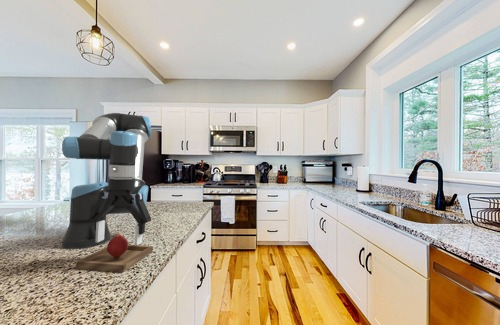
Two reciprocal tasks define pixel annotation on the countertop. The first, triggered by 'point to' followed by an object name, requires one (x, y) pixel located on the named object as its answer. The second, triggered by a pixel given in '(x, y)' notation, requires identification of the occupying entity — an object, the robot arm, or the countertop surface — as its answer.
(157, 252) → the countertop surface
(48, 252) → the countertop surface
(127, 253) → the tray
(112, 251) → the red fruit
